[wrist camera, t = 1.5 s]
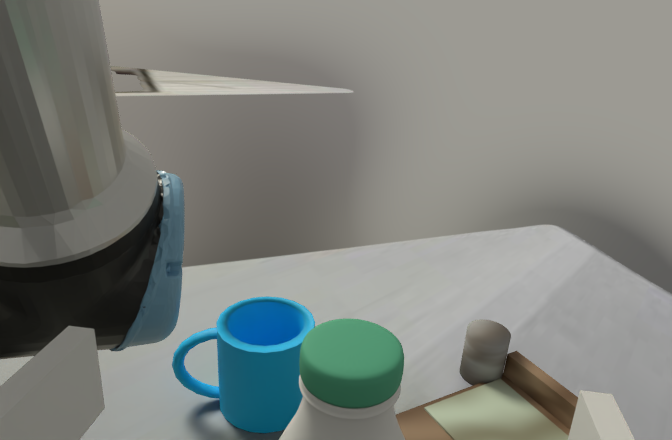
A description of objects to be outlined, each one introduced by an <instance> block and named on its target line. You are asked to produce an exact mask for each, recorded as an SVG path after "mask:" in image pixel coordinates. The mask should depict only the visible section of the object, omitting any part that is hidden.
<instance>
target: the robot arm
mask: <svg viewBox="0 0 672 440" xmlns="http://www.w3.org/2000/svg"><path fill="white" fill-rule="evenodd" d="M183 250H184V189H183V183H182V181H181V179H180V178H179V177H178V176H177V175H175V174H170V173H166V172H164V171H157V170H156V167H155V165H154V161H153V159H152V156H151V154H150V153H149V151H148V150H147V148H146V147H145V146H144V145H143V144H142V143H141V142H140V141H139V140H138V139H137V138H136V137H134V136H133V135H132V134H130V133H129V132H127V131H125V130H123V129H122V128H121V123H120V117H119V112H118V106H117V101H116V95H115V90H114V84H113V78H112V72H111V67H110V62H109V56H108V50H107V45H106V39H105V33H104V28H103V22H102V17H101V11H100V6H99V0H0V359H7V358H17V357H28V356H34V357H33V358H32V359H31V360H30V361H29V362H27V363H26V364H25V365H24V366H23V367H22V368H21V369H19V370H18V371H17V372H16V373H15V374H14V375H13V376H12V377H10V378H9V379H8V380H7V381H6V382H5V383H4V384H3V385H1V386H0V440H79V439H80V438H81V437H82V436H83V435H84V433H85V432H86V431H87V430H88V428H89V427H90V426H91V425H92V423H93V422H94V421H95V420H96V418H97V417H98V416H99V415H100V413H101V412H102V411H103V410H104V408H105V405H104V398H103V391H102V383H101V376H100V368H99V361H98V353H97V350H106V349H109V350H111V351H121V350H123V349H125V348H126V347H130V346H137V345H144V344H151V343H156V342H159V341H162V340H164V339H165V338H167V337H168V336H169V335H170V334H171V332H172V331H173V330H174V328H175V326H176V323H177V319H178V314H179V307H180V298H181V286H182V268H181V265H182V261H183ZM568 440H635V439H634V437H633V435H632V433H631V431H630V429H629V427H628V425H627V423H626V421H625V419H624V417H623V415H622V413H621V411H620V409H619V407H618V405H617V403H616V401H615V399H614V397H613V395H612V394H605V393H597V392H589V391H582V390H580V393H579V397H578V401H577V405H576V409H575V413H574V417H573V421H572V425H571V429H570V433H569V437H568Z"/></svg>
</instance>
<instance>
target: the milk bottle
mask: <svg viewBox="0 0 672 440" xmlns="http://www.w3.org/2000/svg"><path fill="white" fill-rule="evenodd" d="M299 366H300V376H299V387H300V391H301V393H302V395H303V398H302V401H301V403H300V406H299V408H298V410H297V412H296V414H295V415H294V417H293V418H292V420H291V421H290V423H289V424H288V426H287V427H286V429H285V430H284V432H283V434H282V435H281V437H280V439H279V440H405V438H404V436H403V434H402V431H401V429H400V427H399V424H398V422H397V418H396V415H395V410H394V404H395V403H396V401H397V399H398V398H399V395H400V390H401V386H400V383H401V380H402V374H403V368H404V353H403V349H402V346H401V343H400V342H399V340H398V339H397V338H396V337H395V336H394V335H393V334H392V333H391V332H390V331H388V330H387V329H385V328H383V327H381V326H379V325H377V324H375V323H372V322H368V321H364V320H359V319H337V320H332V321H328V322H325V323H322V324H320V325H318V326H316V327H314V328H313V329H312V330H310V331H309V332H308V333H307V334H306V336H305V338H304V340H303V342H302V345H301V349H300V359H299Z"/></svg>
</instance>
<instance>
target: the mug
mask: <svg viewBox="0 0 672 440" xmlns="http://www.w3.org/2000/svg"><path fill="white" fill-rule="evenodd" d="M314 327H315V321H314V318H313V316H312V314H311V313H310V312H309V311H308V310H307V309H306V308H305V307H304V306H302V305H300V304H298V303H297V302H295V301H291V300H288V299H284V298H278V297H257V298H251V299H247V300H243V301H239V302H237V303H235V304H233V305H231V306H229V307H228V308H227V309H226V310H225V311H224V312H222V313H221V314H220V316H219V319H218V321H217V328H210V329H207V330H204V331H201V332H198V333H195V334H193V335H192V336H190V337H189V338H187V339H186V340H184V341H183V342H182V343H181V344H180V346H179V347H178V349H177V350H176V351H175V353H174V357H173V363H172V367H173V370H174V373H175V376H176V378H177V379H178V380H179V381H180V382H181V383H182V384H183V386H184V387H186V388H188V389H189V390H191V391H193V392H195V393H196V394H200V395H203V396H207V397H210V398H219V400H220V410H221V412H222V414H223V415H224V417H225V419H226V420H227V421H229V422H230V423H231V424H233V425H234V426H235V427H237V428H240V429H243V430H246V431H248V432H256V433H270V432H277V431H281V430H284V429H286V427H287V426H288V424H289V423H290V421H291V420H292V418H293V417H294V415H295V414H296V412H297V410H298V408H299V406H300V403H301V401H302V398H303V395H302V393H301V391H300V387H299V376H300V366H299V359H300V349H301V345H302V342H303V340H304V338H305V336H306V334H307V333H308V332H309V331H310V330H312V329H313V328H314ZM211 339H217V349H218V375H219V387H217V386H212V385H208V384H205V383H202V382H200V381H198V380H196V379H195V378H193V377H192V376H191V375H190V374H189V373H188V372H187V371H186V369H185V366H184V359H185V356H186V354H187V353H188V351H189V350H190V349H192V348H193V347H195V346H196V345H198V344H199V343H202V342H205V341H208V340H211Z"/></svg>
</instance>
